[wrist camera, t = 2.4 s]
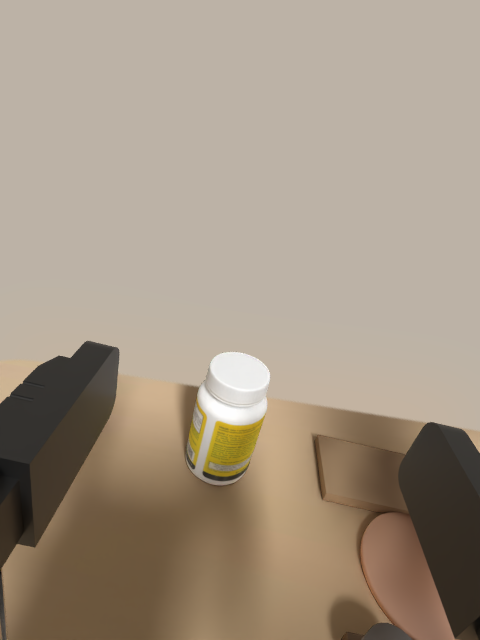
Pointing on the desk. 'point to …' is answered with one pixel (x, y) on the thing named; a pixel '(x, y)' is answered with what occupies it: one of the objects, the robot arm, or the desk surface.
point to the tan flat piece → (384, 540)
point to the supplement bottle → (227, 418)
